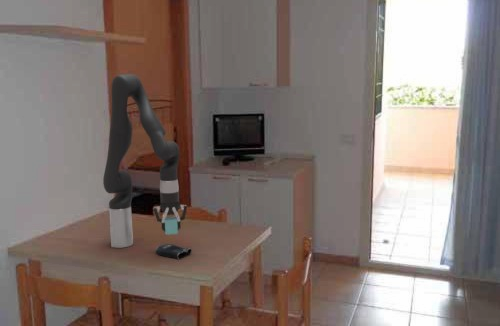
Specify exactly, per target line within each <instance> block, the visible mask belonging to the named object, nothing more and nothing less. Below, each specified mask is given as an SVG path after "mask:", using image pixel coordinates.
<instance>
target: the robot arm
mask: <svg viewBox="0 0 500 326" xmlns="http://www.w3.org/2000/svg"><path fill="white" fill-rule="evenodd" d="M110 88H111V91H110V92H111V95H110V96H111V114H110V126H109V133H108V135H109V136H108V149H107V157H106V164H105V169H104V174H103V183H102V184H103V188H104V190H105V192H106V193H108V194H115V196H113V198H112V199H110V200H109V202H108V208H109V209H108V211H109V223H110V225H109V231H110V233H109V234H110V246H111V248H115V249H116V248H117V249H120V248H121V249H122V248H128V247H131V246H132V245H134V236H133V220H132V219H133V218H132V201H133V181H132V176H131V174H130V172H129V171H128V170H126V169H120V168H121V167H120V166H121V164H122V161H123V159H124V158H125V156H126V154H127V153H128V151H129V149H130V147H131V145H132V140H133V125H132V122H131V119H130V117H129V114H128V102H129V101H128V99H129V98H130V97H131V98H132V100H133V101H134V102H135V103H136V105H137V109H138V112H139V119H140V123H141V127H142V128H143V130H144V131H145V133H146V134H147V136H148V138H149V140H150V144H151V147H152V150H153V152H154V154H155V156H156V157H157V158H158V159H159V160H161V161H163V163H162V165H161V166H160V168H159V179H160V181H159V191H160V193H159V194H160V195H159V196H160V197H159V198H160V204H159V205H158V206H154V207H153V212H154V215H155V216H154V217H155V219H156V221H157V222H158V223H161V230H162V231H163V232H165V219H166V217H168V216H170V215H172V216H173V215H174V217H176V218H177V225H178V231H180V229H181V222H182V221H184V220H185V218H186V214H187V209H188V207H187V204H181V203H180V190H179V188H180V187H179V180H178V179H179V178H178V166H179V160H180V147H179V145H178V143H177V142H175V141H173V140H170V141H166V139H165V136H166V133H167V132H166V130H165V128H164V126H163V125H162V123H161V121H160V119H159V118H158V116H157V115H156V112H155V111H154V109H153V107H152V103H151V102H150V100H149V97H148V95H147V92H146V90H145V87H144V86H143V83H142V81H141V79H140V78H139V77H138V75H136V74H133V73H125V74H117V75H115V76H114V77H113V79H112V82H111V87H110ZM180 209H181V210H182V213H181V216H180V215H179V213H178V211H179V210H180ZM160 210H161V211H162V213H163V214H162V217H160V214H159V212H160Z"/></svg>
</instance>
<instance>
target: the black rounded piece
mask: <svg viewBox="0 0 500 326" xmlns="http://www.w3.org/2000/svg"><path fill="white" fill-rule="evenodd" d="M155 252H156V254H157V255H159V256H163V257H167V258H171V259H178V260H180V259H182V258H185V257H186V256H188V255H191V254H192V252H193V251H192V248H191V247H189V248H185V247H181V246H178V245H176V244H173V243H164V244H159V245H158V246H157V247H156V249H155ZM180 254H181V255H180ZM179 255H180V256H179Z"/></svg>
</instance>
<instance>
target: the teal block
mask: <svg viewBox="0 0 500 326" xmlns="http://www.w3.org/2000/svg"><path fill="white" fill-rule="evenodd" d="M164 232H165V235H167V236H168V235H178V234H179V230H178V225H177V218H176V216H166V219H165V231H164Z"/></svg>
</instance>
